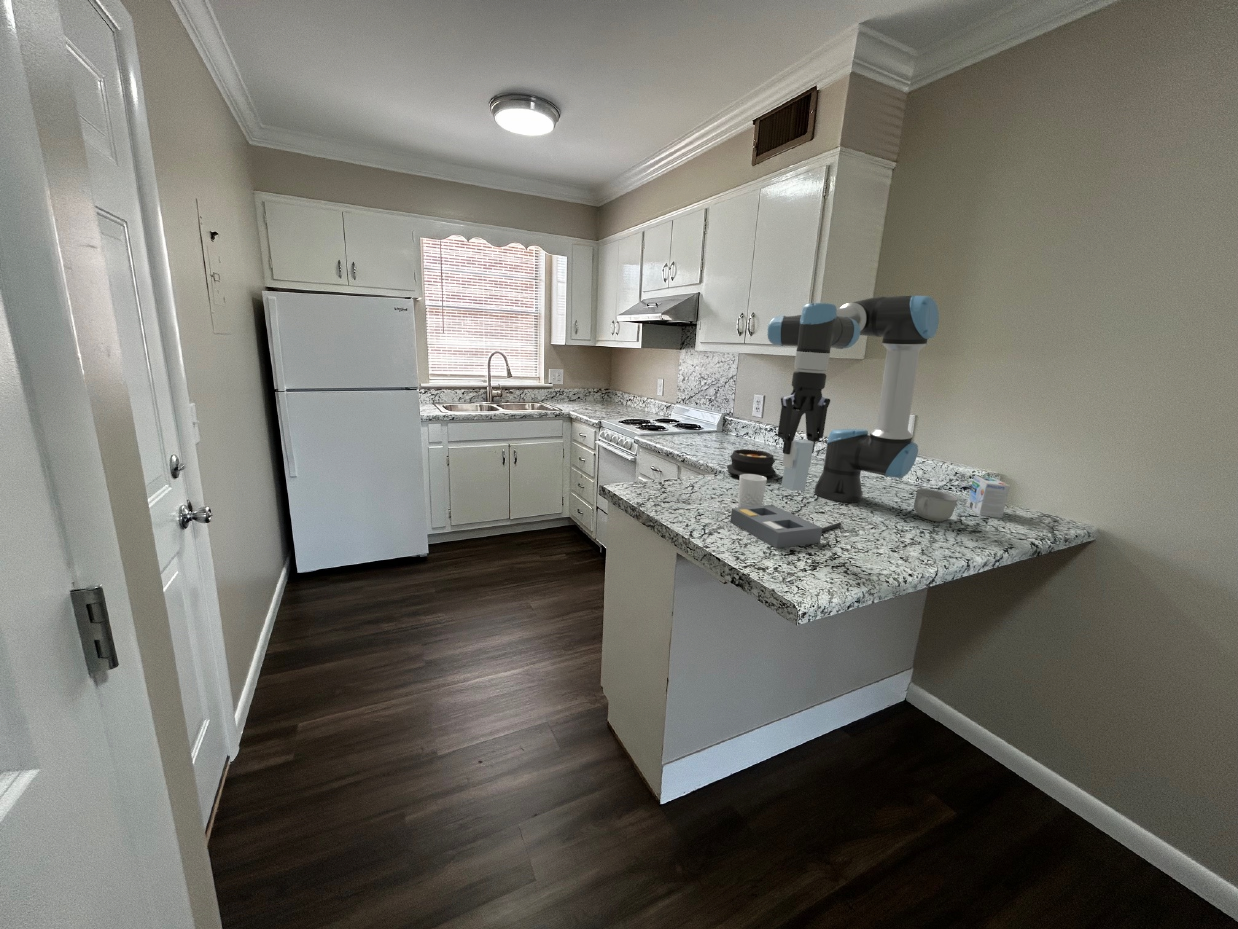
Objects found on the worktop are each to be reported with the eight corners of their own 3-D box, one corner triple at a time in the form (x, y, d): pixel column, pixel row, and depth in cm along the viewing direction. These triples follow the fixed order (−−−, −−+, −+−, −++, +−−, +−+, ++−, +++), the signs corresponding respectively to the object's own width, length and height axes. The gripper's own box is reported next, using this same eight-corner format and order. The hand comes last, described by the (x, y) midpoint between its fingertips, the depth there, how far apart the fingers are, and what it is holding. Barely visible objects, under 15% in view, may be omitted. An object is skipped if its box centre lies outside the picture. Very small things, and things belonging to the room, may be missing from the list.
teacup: (928, 511, 163) (933, 487, 161) (961, 523, 153) (966, 497, 151) (896, 514, 158) (901, 489, 156) (928, 526, 148) (933, 500, 146)
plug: (793, 486, 130) (801, 439, 128) (804, 490, 127) (813, 443, 124) (778, 486, 128) (786, 439, 126) (789, 490, 125) (798, 442, 122)
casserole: (764, 485, 183) (767, 462, 181) (715, 475, 192) (718, 453, 190) (783, 473, 204) (786, 452, 202) (738, 464, 213) (740, 445, 211)
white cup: (743, 503, 159) (746, 472, 157) (767, 509, 154) (771, 477, 152) (731, 508, 153) (735, 476, 151) (755, 515, 148) (760, 482, 146)
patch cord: (837, 525, 144) (838, 521, 144) (841, 526, 143) (841, 523, 143) (805, 535, 134) (805, 532, 133) (808, 537, 133) (809, 533, 133)
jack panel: (770, 518, 146) (772, 504, 145) (819, 542, 130) (822, 527, 129) (730, 522, 141) (731, 507, 140) (776, 548, 124) (778, 532, 123)
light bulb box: (966, 506, 172) (973, 475, 169) (988, 508, 170) (996, 477, 168) (979, 515, 162) (986, 483, 159) (1003, 518, 160) (1011, 485, 158)
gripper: (826, 371, 128) (812, 461, 133) (769, 368, 121) (757, 464, 126) (850, 374, 121) (834, 468, 127) (791, 370, 114) (777, 471, 119)
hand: (796, 466), depth 126 cm, fingers closed on plug, 5 cm apart
